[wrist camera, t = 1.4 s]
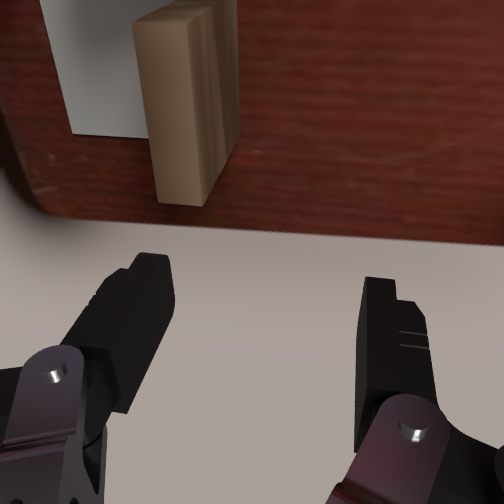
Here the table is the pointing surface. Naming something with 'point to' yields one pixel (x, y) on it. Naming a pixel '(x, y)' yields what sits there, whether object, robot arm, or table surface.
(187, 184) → the tile
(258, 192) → the table surface
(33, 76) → the table surface
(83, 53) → the mat
